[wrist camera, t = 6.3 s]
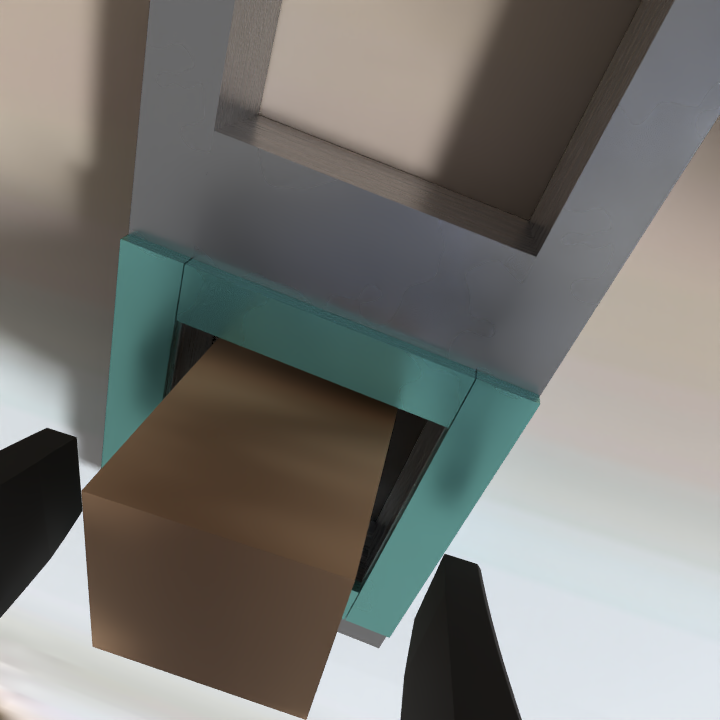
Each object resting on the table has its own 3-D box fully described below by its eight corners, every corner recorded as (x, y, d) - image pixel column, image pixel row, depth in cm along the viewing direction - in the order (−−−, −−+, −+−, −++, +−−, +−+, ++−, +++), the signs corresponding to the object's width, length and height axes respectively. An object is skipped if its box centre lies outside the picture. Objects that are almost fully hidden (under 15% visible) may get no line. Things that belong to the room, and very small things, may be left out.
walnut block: (409, 360, 13) (354, 580, 8) (369, 483, 15) (306, 719, 10) (243, 310, 13) (81, 491, 8) (227, 438, 15) (92, 646, 10)
